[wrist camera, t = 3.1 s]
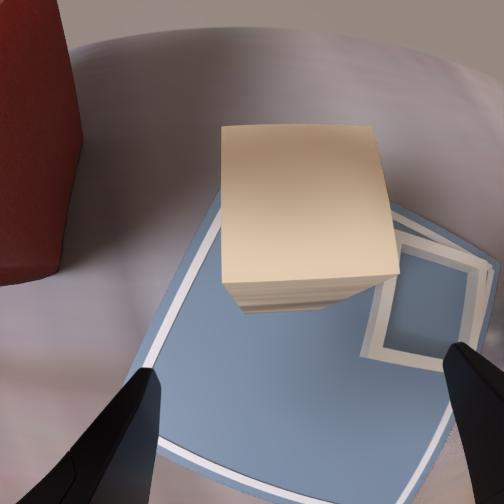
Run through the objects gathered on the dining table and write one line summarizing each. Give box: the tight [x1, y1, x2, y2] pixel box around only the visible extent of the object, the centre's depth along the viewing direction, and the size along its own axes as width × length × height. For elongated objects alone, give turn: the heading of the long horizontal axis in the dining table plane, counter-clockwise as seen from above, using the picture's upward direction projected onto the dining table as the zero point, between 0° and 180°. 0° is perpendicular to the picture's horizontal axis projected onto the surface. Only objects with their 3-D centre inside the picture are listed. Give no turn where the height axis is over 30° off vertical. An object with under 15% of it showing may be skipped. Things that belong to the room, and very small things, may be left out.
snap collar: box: [360, 229, 487, 372], centre depth 18 cm, size 8×8×2 cm
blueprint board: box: [123, 187, 501, 504], centre depth 19 cm, size 22×22×1 cm
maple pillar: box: [221, 124, 400, 314], centre depth 14 cm, size 4×4×12 cm
